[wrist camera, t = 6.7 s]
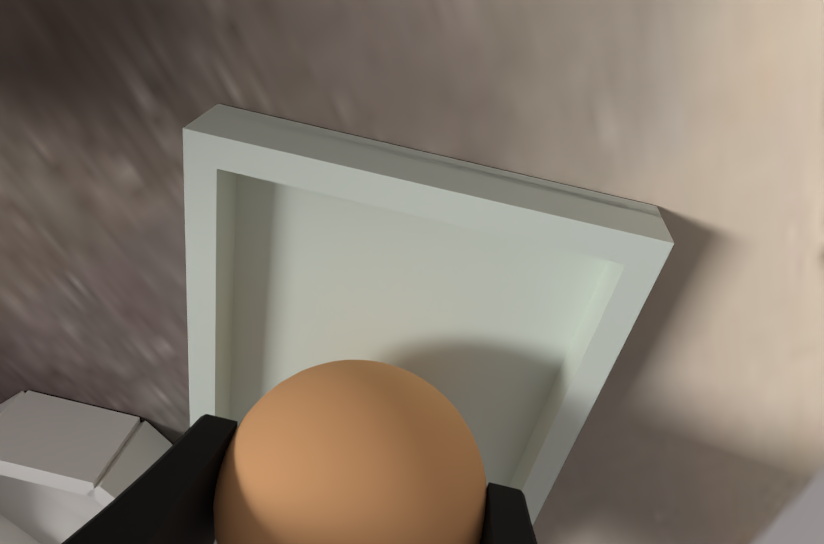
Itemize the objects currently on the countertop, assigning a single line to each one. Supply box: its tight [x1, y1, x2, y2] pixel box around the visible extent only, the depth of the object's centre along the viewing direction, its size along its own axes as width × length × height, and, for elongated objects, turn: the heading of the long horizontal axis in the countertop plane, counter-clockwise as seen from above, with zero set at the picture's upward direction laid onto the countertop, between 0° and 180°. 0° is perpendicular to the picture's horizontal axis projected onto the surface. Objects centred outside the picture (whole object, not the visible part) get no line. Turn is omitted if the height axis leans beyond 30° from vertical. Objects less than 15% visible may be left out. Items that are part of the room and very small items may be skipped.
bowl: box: [0, 390, 217, 544], centre depth 18 cm, size 8×8×2 cm
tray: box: [183, 104, 674, 526], centre depth 14 cm, size 11×8×2 cm
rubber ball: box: [213, 360, 487, 544], centre depth 11 cm, size 5×5×5 cm
